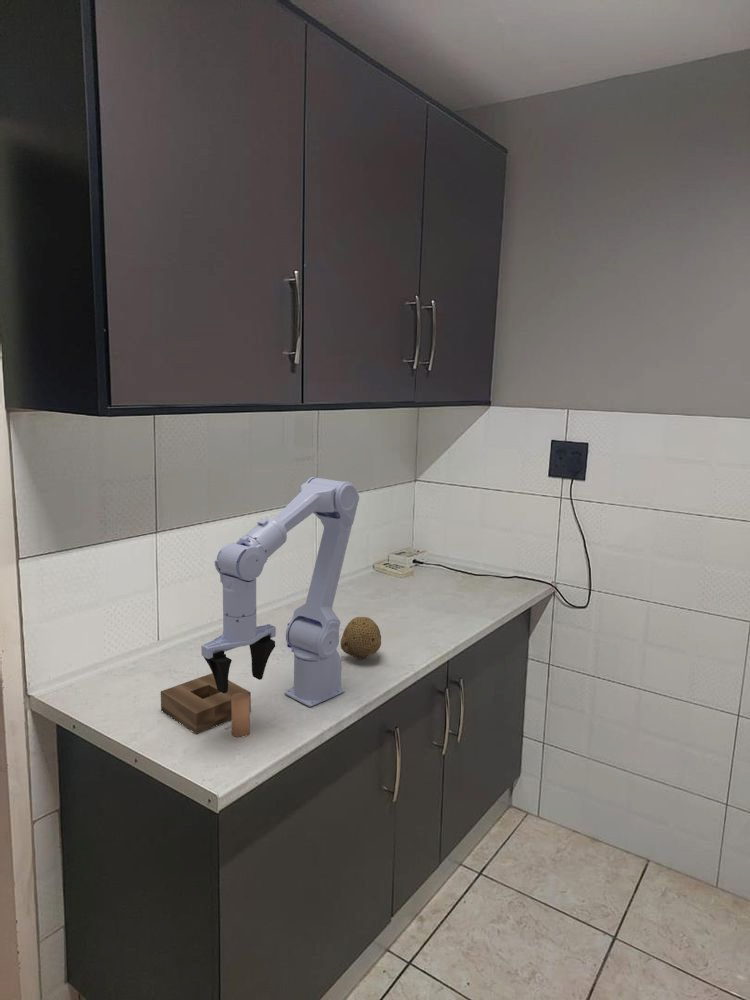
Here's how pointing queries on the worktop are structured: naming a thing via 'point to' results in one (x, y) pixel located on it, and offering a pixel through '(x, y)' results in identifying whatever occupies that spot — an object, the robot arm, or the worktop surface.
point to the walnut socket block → (200, 703)
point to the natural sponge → (361, 638)
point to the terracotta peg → (240, 714)
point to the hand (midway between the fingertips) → (240, 684)
